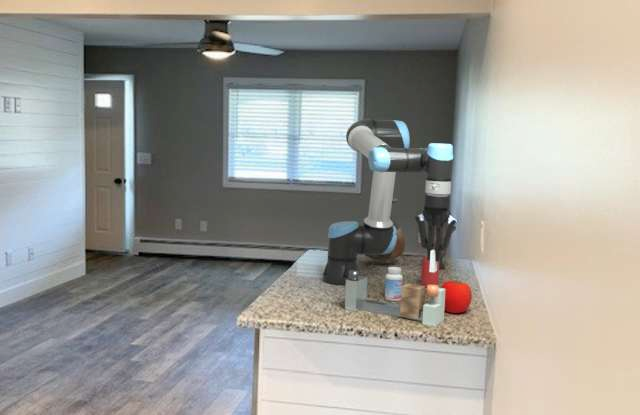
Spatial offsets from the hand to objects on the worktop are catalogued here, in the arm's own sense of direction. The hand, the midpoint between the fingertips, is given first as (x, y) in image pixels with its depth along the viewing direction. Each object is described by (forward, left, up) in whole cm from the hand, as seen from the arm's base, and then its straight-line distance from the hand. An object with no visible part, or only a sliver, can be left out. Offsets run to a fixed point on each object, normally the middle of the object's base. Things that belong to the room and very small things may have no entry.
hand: (433, 271), depth 184 cm
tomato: (+2, +17, -17) cm, 24 cm away
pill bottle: (-21, +20, -17) cm, 33 cm away
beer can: (-17, +47, -17) cm, 53 cm away
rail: (-15, +2, -16) cm, 22 cm away
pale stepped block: (0, +2, -16) cm, 17 cm away
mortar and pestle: (-25, +84, -17) cm, 89 cm away
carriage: (-7, +2, -16) cm, 18 cm away
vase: (-49, +74, -17) cm, 90 cm away
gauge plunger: (0, 0, -9) cm, 9 cm away
